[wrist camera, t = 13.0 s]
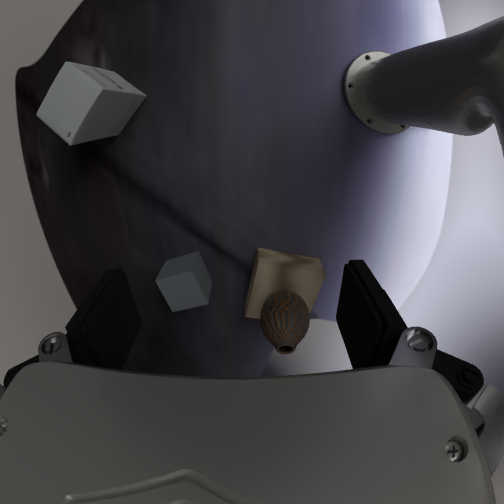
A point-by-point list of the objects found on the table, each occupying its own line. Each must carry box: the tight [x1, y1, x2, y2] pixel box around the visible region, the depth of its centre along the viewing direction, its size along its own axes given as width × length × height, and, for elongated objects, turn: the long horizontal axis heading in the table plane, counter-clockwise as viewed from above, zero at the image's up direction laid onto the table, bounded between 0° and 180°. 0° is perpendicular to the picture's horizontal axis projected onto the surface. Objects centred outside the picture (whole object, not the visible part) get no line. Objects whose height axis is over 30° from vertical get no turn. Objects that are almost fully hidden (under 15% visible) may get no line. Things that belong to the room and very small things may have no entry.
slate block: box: [155, 251, 212, 312], centre depth 41 cm, size 6×6×6 cm
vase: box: [260, 290, 310, 354], centre depth 37 cm, size 7×7×9 cm
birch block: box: [245, 248, 326, 319], centre depth 43 cm, size 10×10×5 cm
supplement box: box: [37, 62, 147, 146], centre depth 25 cm, size 7×7×13 cm
